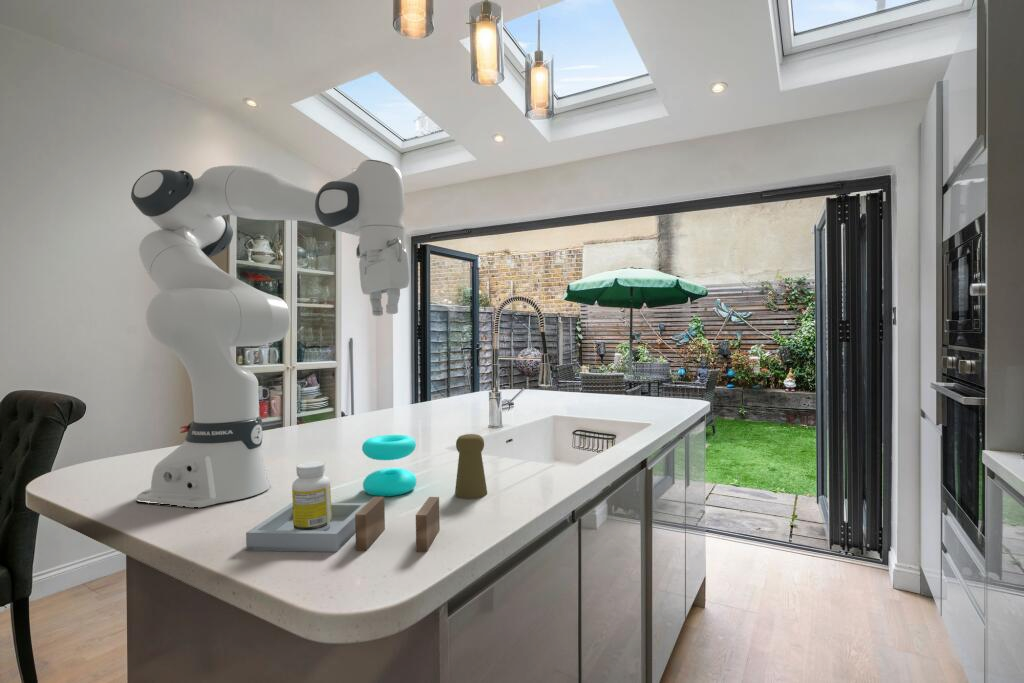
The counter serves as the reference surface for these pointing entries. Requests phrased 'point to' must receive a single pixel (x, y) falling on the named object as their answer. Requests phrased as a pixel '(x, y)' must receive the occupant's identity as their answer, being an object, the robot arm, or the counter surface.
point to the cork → (470, 467)
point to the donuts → (392, 478)
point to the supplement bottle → (311, 498)
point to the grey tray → (282, 536)
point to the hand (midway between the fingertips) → (384, 314)
